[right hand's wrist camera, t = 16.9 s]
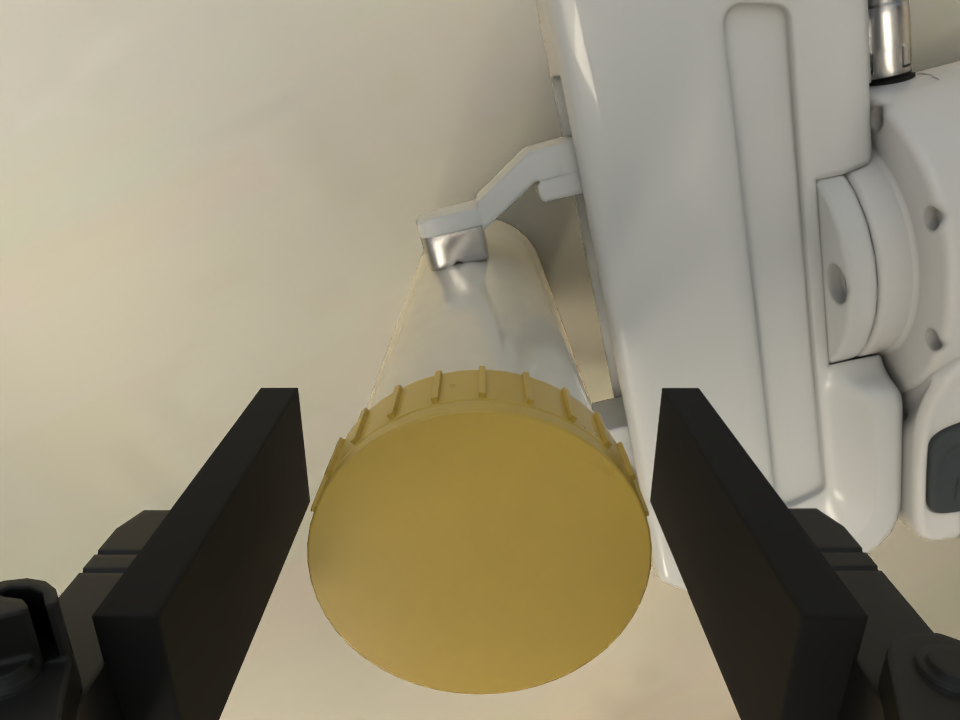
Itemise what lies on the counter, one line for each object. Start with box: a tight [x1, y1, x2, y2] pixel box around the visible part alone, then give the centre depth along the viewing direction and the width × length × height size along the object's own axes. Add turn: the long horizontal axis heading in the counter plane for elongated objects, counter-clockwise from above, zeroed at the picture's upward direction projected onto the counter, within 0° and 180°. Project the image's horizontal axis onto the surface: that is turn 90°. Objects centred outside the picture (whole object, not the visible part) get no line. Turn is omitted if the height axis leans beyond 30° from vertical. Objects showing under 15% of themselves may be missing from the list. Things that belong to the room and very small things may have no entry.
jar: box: [367, 220, 595, 413], centre depth 19 cm, size 5×5×17 cm
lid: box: [307, 366, 652, 694], centre depth 11 cm, size 6×6×2 cm
